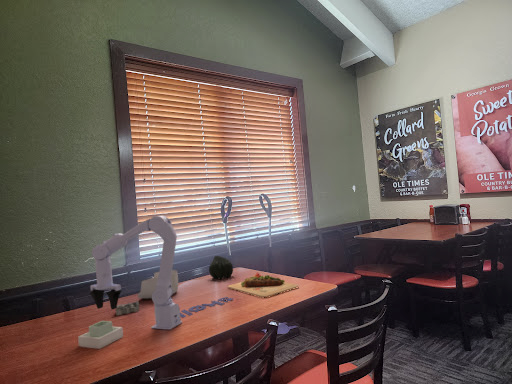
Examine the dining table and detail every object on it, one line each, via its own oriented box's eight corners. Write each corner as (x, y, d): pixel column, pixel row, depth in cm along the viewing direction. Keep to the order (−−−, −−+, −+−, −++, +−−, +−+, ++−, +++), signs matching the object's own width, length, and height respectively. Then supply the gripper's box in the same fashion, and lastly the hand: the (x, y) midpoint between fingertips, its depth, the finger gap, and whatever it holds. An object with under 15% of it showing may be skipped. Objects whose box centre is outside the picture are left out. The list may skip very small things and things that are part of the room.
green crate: (113, 336, 126) (112, 321, 126) (100, 342, 121) (98, 327, 121) (103, 335, 128) (102, 320, 129) (89, 341, 123) (88, 326, 123)
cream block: (173, 299, 175) (171, 276, 175) (137, 302, 175) (135, 279, 175) (183, 289, 195) (181, 268, 195) (150, 292, 195) (148, 271, 195)
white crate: (123, 336, 127) (122, 327, 127) (99, 348, 117) (99, 338, 117) (102, 334, 131) (102, 325, 131) (78, 346, 122) (78, 336, 122)
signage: (226, 296, 168) (237, 299, 160) (226, 297, 168) (237, 301, 160) (173, 312, 150) (182, 316, 142) (173, 313, 150) (183, 318, 142)
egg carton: (115, 316, 154) (114, 307, 154) (116, 312, 161) (115, 303, 161) (139, 311, 158) (139, 303, 158) (139, 307, 165) (138, 299, 165)
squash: (238, 268, 209) (228, 250, 218) (216, 274, 201) (207, 254, 210) (232, 281, 218) (223, 262, 227) (211, 287, 210) (203, 267, 219)
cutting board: (226, 289, 186) (225, 275, 187) (260, 280, 200) (258, 267, 201) (264, 300, 158) (263, 284, 158) (300, 288, 172) (299, 274, 172)
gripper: (82, 276, 134) (85, 310, 133) (109, 276, 128) (112, 312, 127) (97, 272, 140) (100, 305, 140) (123, 272, 134) (126, 306, 134)
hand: (107, 308), depth 134 cm, fingers open, 7 cm apart
